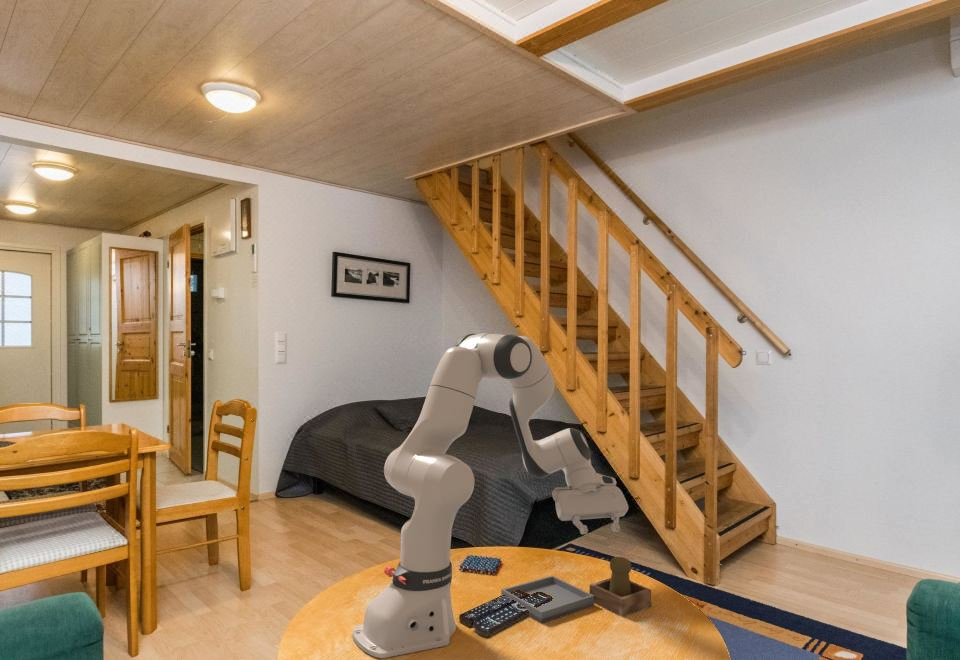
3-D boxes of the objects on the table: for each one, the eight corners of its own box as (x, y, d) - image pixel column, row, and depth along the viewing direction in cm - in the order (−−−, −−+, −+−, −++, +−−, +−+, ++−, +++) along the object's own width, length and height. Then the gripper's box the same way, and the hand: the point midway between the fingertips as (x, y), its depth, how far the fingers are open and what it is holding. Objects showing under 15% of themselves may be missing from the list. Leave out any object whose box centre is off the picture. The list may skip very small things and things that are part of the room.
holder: (622, 617, 137) (622, 599, 137) (589, 600, 146) (589, 584, 146) (651, 606, 143) (651, 589, 143) (618, 591, 152) (618, 575, 152)
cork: (635, 609, 141) (635, 563, 142) (610, 608, 141) (610, 562, 142) (629, 598, 147) (629, 554, 148) (605, 598, 147) (605, 553, 148)
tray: (541, 623, 133) (541, 612, 133) (501, 599, 145) (501, 589, 145) (593, 605, 143) (594, 595, 143) (552, 585, 155) (552, 575, 155)
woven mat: (495, 577, 160) (495, 570, 160) (458, 573, 163) (458, 566, 163) (503, 564, 170) (503, 557, 171) (467, 560, 173) (468, 553, 173)
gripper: (553, 481, 159) (569, 528, 149) (620, 478, 165) (639, 523, 155) (546, 494, 163) (561, 540, 153) (611, 490, 169) (629, 535, 159)
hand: (600, 531), depth 154 cm, fingers open, 8 cm apart
